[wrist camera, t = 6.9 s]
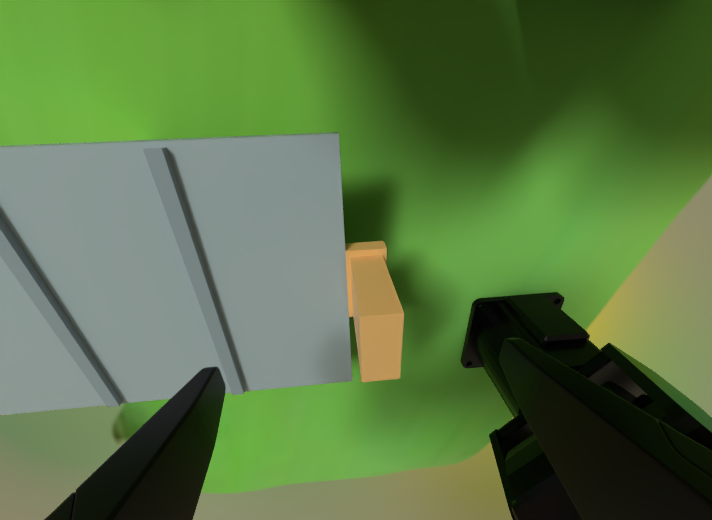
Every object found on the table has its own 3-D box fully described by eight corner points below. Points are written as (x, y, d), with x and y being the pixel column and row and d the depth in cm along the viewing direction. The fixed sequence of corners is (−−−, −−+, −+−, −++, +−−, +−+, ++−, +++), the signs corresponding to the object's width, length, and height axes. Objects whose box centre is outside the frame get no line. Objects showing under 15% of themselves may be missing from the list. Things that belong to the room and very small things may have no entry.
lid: (381, 366, 17) (399, 453, 13) (9, 401, 15) (-110, 511, 11) (385, 130, 11) (423, 144, 6) (-227, 155, 9) (-679, 191, 5)
